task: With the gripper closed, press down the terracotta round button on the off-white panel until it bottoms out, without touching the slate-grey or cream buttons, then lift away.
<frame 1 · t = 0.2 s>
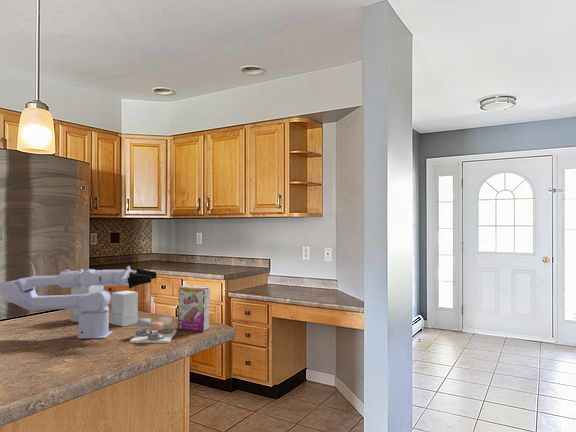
hand: (153, 277, 154), 21 cm above the countertop, tool horizontal, fingers open, 7 cm apart
supplement box: (124, 324, 171), on the countertop
cream button: (165, 320, 157), point 5 cm above the countertop, slide at 0.0 cm
candy bar box: (193, 329, 164), on the countertop
panel: (154, 337, 152), on the countertop
slate button: (144, 322, 153), point 5 cm above the countertop, slide at 0.0 cm
supplement box 2: (86, 320, 176), on the countertop
terracotta button: (156, 326, 148), point 5 cm above the countertop, slide at 0.0 cm
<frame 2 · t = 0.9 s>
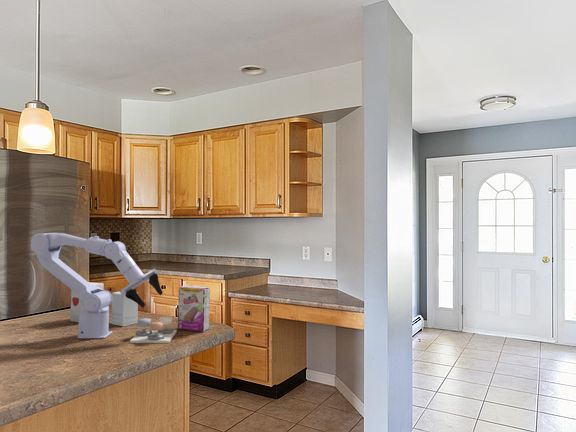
hand: (153, 300, 152), 13 cm above the countertop, tool tilted 40°, fingers open, 7 cm apart
nothing on the countertop moved.
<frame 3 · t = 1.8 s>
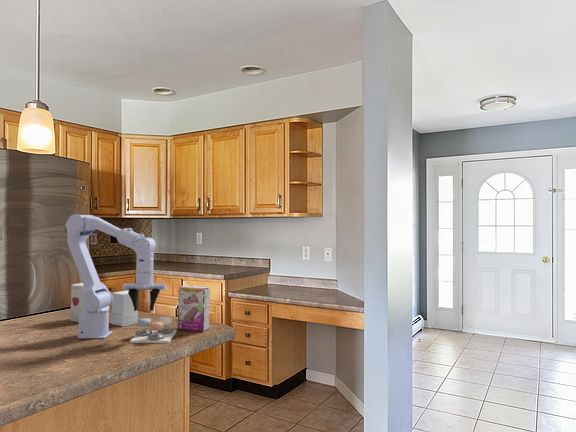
hand: (143, 310, 151), 10 cm above the countertop, tool pointing down, fingers open, 5 cm apart
nothing on the countertop moved.
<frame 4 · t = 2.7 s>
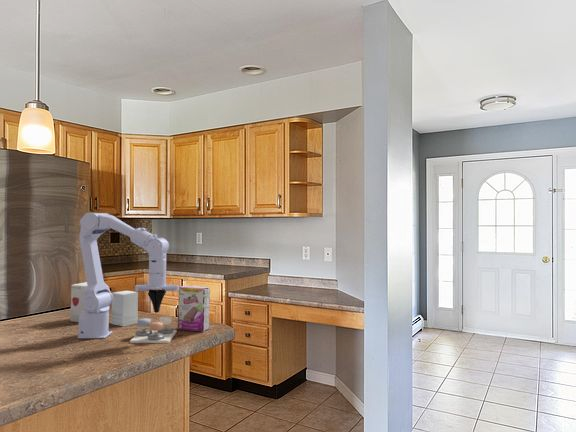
hand: (156, 311, 149), 10 cm above the countertop, tool pointing down, fingers closed
nothing on the countertop moved.
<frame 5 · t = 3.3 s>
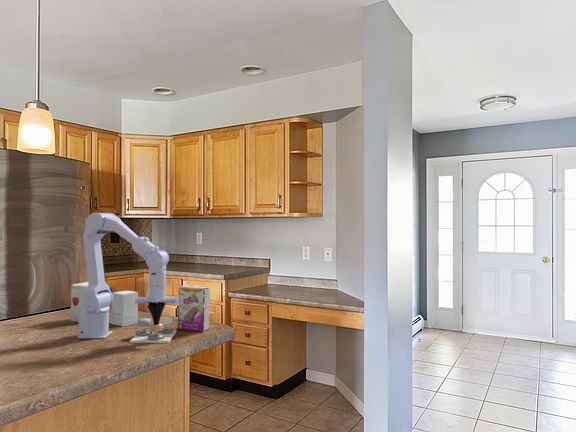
hand: (156, 324, 148), 6 cm above the countertop, tool pointing down, fingers closed, pressing on terracotta button
terracotta button: (156, 327, 148), point 5 cm above the countertop, slide at -0.4 cm, touching gripper
everything else where it was.
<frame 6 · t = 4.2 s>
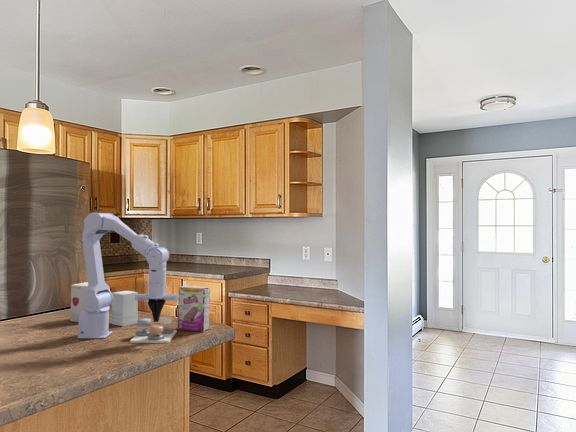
hand: (156, 321, 149), 7 cm above the countertop, tool pointing down, fingers closed
terracotta button: (156, 329, 148), point 4 cm above the countertop, slide at -1.2 cm
everything else where it was.
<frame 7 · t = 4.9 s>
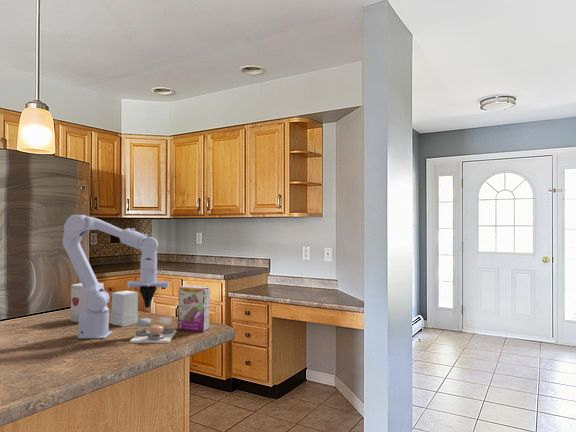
hand: (147, 307, 157), 10 cm above the countertop, tool pointing down, fingers closed
nothing on the countertop moved.
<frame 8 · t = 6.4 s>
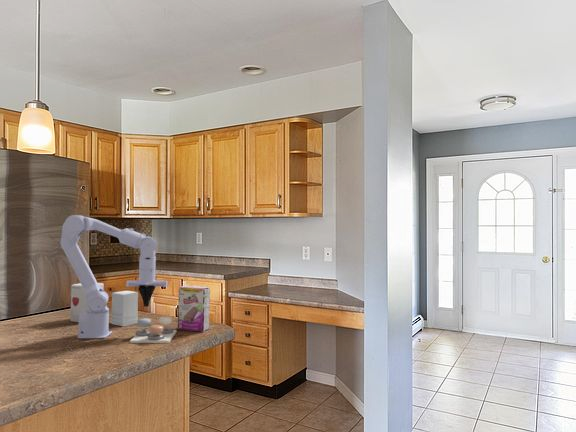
hand: (146, 306, 158), 10 cm above the countertop, tool pointing down, fingers closed
nothing on the countertop moved.
at the end: terracotta button slide at -1.2 cm; slate button slide at 0.0 cm; cream button slide at 0.0 cm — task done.
